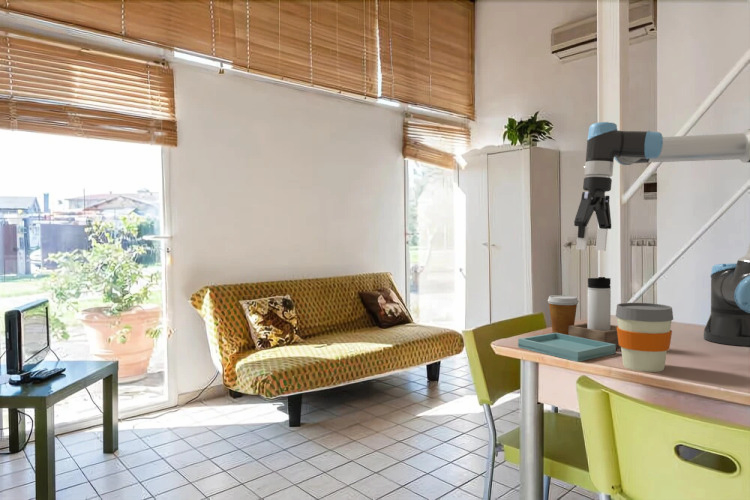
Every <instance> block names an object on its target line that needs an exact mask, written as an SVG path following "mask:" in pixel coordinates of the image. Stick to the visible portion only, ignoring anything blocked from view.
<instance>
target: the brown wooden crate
mask: <svg viewBox="0 0 750 500" xmlns="http://www.w3.org/2000/svg"><path fill="white" fill-rule="evenodd" d="M617 327H618V325H615V324H610V330H609V331H598V330H593V329H587V322H585V323H579V324H574V325H572V326H569V335H571V336H576V337H581V338H586V339H591V340H596V341H601V342H606V343H611V344H616V349H617V348H621V346H619V342H618V335H617Z"/></svg>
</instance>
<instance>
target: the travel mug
mask: <svg viewBox="0 0 750 500" xmlns="http://www.w3.org/2000/svg"><path fill="white" fill-rule="evenodd" d="M611 283H612V282H611V277H610V278H609V277H605V276H598V277H589V278H587V311H586V312H587V313H586V314H587V322H586V323H587V329H593V330H598V331H609V330H610V325H611V317H612V316H611V313H612V312H611V310H612V309H611V308H612V306H611V305H612V304H611V302H612V300H611V299H612V298H611V297H612V296H611V292H612V291H611Z"/></svg>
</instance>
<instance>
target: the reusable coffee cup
mask: <svg viewBox="0 0 750 500" xmlns="http://www.w3.org/2000/svg"><path fill="white" fill-rule="evenodd" d="M615 317H616V320H617V326H618V327H617V335H618V342H619V346H621V347H620V350H621V357H622V359H621V360H622V366H623V367H624V368H627V369H629V370H633V371H639V372H646V373H657V372H662V371H664V370H665V366H666V359H667V354H668V351H669V350H670V345H671V339H672V335H673V334H672V333H673V331H672V330H671V327H672V321H674V314H673V307H672V306H670V305H666V304H660V303H659V304H658V303H650V302H649V303H647V302H622V303H617V304H616V310H615Z"/></svg>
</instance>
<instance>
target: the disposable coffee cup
mask: <svg viewBox="0 0 750 500" xmlns="http://www.w3.org/2000/svg"><path fill="white" fill-rule="evenodd" d="M547 303H548V306H549V314H550V322H551V330H552V332H551V333H560V334H565V335H569V326H572V325H575V321H576V317H577V316H576V313H577V307H578V303H579V300H578V297H577V296H574V295H568V294H567V295H564V294H563V295H562V294H560V295H559V294H557V295H555V294H554V295H549V296H548V299H547Z"/></svg>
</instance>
